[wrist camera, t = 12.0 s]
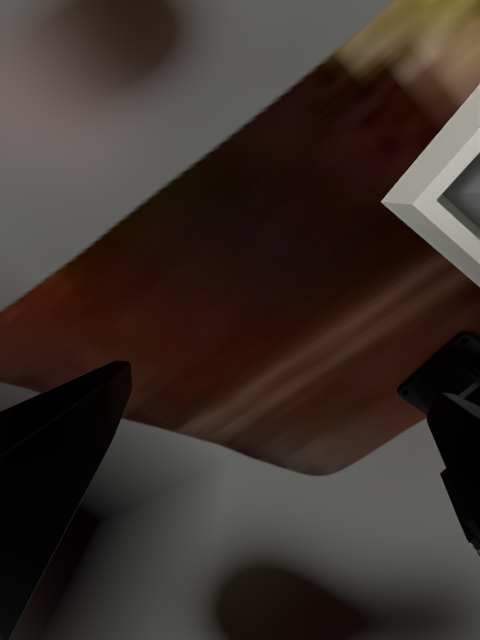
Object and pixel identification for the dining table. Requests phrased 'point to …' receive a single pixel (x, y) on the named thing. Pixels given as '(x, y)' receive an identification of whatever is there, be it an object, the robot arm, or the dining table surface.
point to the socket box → (446, 191)
